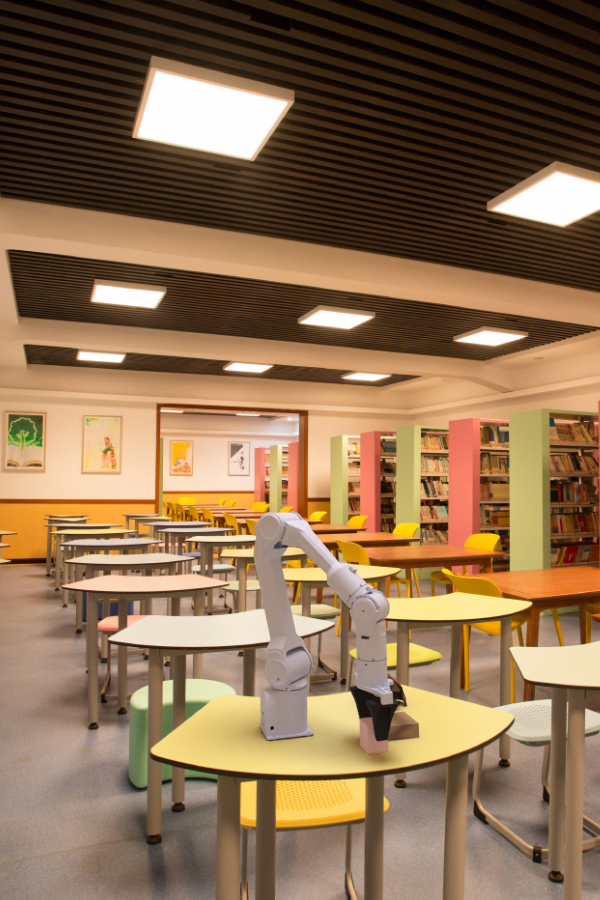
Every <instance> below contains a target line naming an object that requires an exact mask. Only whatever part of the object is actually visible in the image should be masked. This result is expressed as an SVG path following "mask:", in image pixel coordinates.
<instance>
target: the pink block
mask: <svg viewBox="0 0 600 900" xmlns="http://www.w3.org/2000/svg"><path fill="white" fill-rule="evenodd" d="M358 721H359V747H361V749H363V751H364V752H365V753H366V754H367V755H372V754H373V755H374V754H380V753H381V754H382V753H387V752H389V741H388V740H386V741H376V739H375V735H374V729H373V722H372V717H369V718H360V719H359V720H358Z"/></svg>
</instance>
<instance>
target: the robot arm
mask: <svg viewBox="0 0 600 900" xmlns="http://www.w3.org/2000/svg"><path fill="white" fill-rule="evenodd" d="M253 529H254V535H255V541H254V548H253V562H254V566H255V571H256V575H257V581H258V585H259V589H260V593H261V594H260V595H261V600H262V604H263V609H264V615H265V619H266V624H267V629H268V633H269V634H268V635H269V642H268V645H267V647H266V648H265V651H264V656H265V666H264V674H265V675H264V676H265V678H266V681H267V683H268V684H269V686H267V687H265V686H264V687H262V688H261V689H260V693H259V695H260V697H259V699H260V700H259V701H260V702H259V703H260V704H259V705H260V714H259V715H260V717H259V718H260V723H259V727H260V729H261V731H262V732H263V735H264V737H265V739H266V740H267V741H272V740H280V739H287V738H291V739H292V738H297V737H298V738H299V737H307V736H314V735H315V734H314V731H313V729H312V728H311V727H310V725H309V724H308V676H309V675H310V674H311V672H312V670H313V667H314V663H313V662H314V661H313V657H312V655H311V653H310V652H309V650H308V649H307V647H306V643H305V642H306V641H305V640H304V639H303V638H302V637H301V636H300V635H299V634H298V633H297V631H296V626H295V622H294V617H293V612H292V607H291V601H290V598H289V594H288V588H287V583H286V579H285V575H284V571H283V565H282V557H283V556H284V554H285V552H286V551H287V549H288V548H289V547H294V548H299V549H300V550H301V551H302V552H303V553H304V554H305V555H306V556H307V557H308V558H310V559H311V561H312V562H313V563H314V564H316V566H317V567H318V568H320V570H322V571H323V573H325V574H326V584H327V585H328V586H329V587H330V589H331V590H332V591H333V592H334V593H335V594H336V595H337V596H338V597H339V598H340V600H341V601H342V602H343V603H344V604H345V605H346V607H348V608H349V615H350V618H351V619H352V621H353V622H354V624H355V643H356V646H355V647H356V649H355V650H356V651H355V652H356V671H354V673H353V675H354V683H355V685H354V686H353V685H352V686H349V688H348V689H349V692H350V694H351V695H352V697H353V700H354V703H355V706H356V710H357V711H356V712H357V715H358V718H359V719H360V718H369V717H372V722H373V729H374V735H375V739H376V741H386V740H388V736H389V731H390V726H391V722H392V718H393V716H394V713H395V712H396V711H397V710H398V707H399V702H398V700H393V693H392V692H391V691H390V686H389V685H393V684H394V683H393V680H391V679H388V677H387V673H388V654H387V653H388V652H387V651H388V650H387V627H386V626H387V625H386V623H387V622H386V618H388V615H389V614H390V609H391V608H390V607H391V606H390V605H391V604H390V602H389V599H388V598H387V597H386V596H385V593H384V592H382V591H380V590H374V586H372V584H368V583H367V582H366V581H365V580H364V579H363V577H361V576H360V574H359V573H358V572H357V571H358V568H357V567H356V566H355V565H350V564H349V563H347V562H339V561H338V559H336V557H335V555H334V554H332V552H331V551H330V549H328V547H326V545H325V544H324V543H323V541H322V540H321V539H320V538H319V537H318V536H317V534H316V533H315V532H314V531H313V530H312V528H311V526H310V524H309V522H308V521H306V520H305V519H303V517H302V516H301V515H300V514H299V513H298V512H295V511H287V512H272V511H269V512H266V513H263V514H262V515H261V516H260V518H259V519H258V521H257V523H256V524H255V525H254V527H253ZM375 699H376V700H375Z"/></svg>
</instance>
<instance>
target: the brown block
mask: <svg viewBox="0 0 600 900" xmlns="http://www.w3.org/2000/svg"><path fill="white" fill-rule="evenodd" d="M419 724H420V723H419V722H418V721H417V720H416V719H414V718H413V717H412V716H410V715H409V714H408V713H407V712H406V711H397V712H396V711H395V713H394V716H393V718H392V722H391V726H390V731H389V736H388V742H392V741H393V742H394V741H401V740H410V739H419V738H420V725H419Z"/></svg>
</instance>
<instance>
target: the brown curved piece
mask: <svg viewBox="0 0 600 900" xmlns="http://www.w3.org/2000/svg"><path fill="white" fill-rule="evenodd" d="M387 677H388V679H391V680H393V683H394V684H393V685H389V686H390V691H391V692H392V693H393V700H396V701H403V703H404V707H408V703H407V696H406V694H405V692H404V688H403V685H402V684H401V682H400V681H399V680H398V679H396V678H395V677H394V676H392V675H391V674H390V673H389V672H387ZM375 700H376V699H375Z"/></svg>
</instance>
